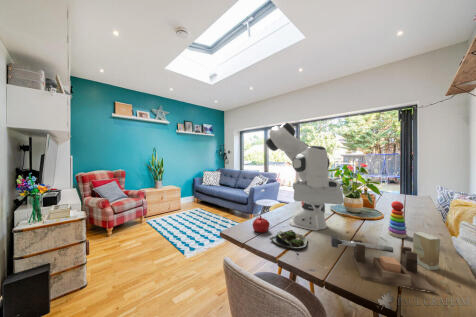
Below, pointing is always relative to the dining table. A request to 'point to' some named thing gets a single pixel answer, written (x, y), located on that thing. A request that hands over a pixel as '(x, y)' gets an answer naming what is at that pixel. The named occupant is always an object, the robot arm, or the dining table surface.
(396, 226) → the stacking toy
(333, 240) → the shaft
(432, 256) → the skincare box
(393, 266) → the block
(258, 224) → the pomegranate
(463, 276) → the dining table surface
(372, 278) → the bearing bracket
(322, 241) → the dining table surface
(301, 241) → the salad plate
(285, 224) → the dining table surface
